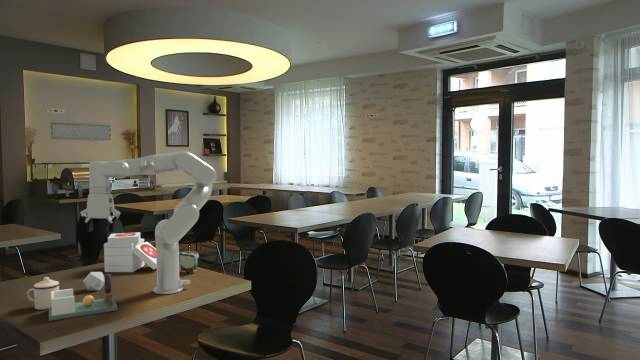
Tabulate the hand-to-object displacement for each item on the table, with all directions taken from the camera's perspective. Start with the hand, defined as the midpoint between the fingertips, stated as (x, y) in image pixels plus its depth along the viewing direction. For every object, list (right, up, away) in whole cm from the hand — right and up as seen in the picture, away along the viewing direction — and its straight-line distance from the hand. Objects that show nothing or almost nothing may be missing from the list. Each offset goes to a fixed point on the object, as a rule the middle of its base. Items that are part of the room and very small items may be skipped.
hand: (100, 232), depth 194 cm
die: (-10, -28, +16) cm, 33 cm away
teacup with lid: (-19, -29, -8) cm, 36 cm away
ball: (+1, -25, -12) cm, 28 cm away
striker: (+7, -27, -9) cm, 29 cm away
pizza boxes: (-7, -26, +55) cm, 62 cm away
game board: (-1, -29, -13) cm, 32 cm away
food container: (+24, -26, +48) cm, 60 cm away
